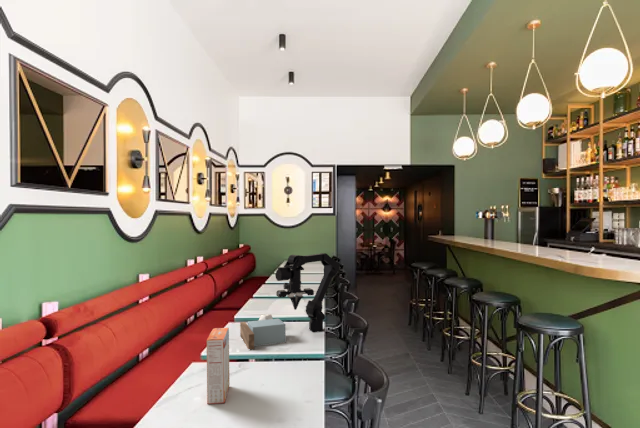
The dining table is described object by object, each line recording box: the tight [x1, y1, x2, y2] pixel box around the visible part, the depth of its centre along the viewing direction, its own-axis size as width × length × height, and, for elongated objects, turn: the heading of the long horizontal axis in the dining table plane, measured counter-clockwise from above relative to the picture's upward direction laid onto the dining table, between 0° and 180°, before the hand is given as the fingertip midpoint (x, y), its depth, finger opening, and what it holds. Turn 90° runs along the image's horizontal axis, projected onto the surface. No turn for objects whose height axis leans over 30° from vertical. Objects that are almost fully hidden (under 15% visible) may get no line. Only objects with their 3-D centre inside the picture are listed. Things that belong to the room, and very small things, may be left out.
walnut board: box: [239, 321, 255, 350], centre depth 194 cm, size 2×24×7 cm, turn 20°
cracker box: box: [205, 327, 230, 405], centre depth 135 cm, size 14×6×21 cm, turn 6°
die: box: [258, 313, 274, 320], centre depth 217 cm, size 8×9×10 cm
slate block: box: [247, 318, 287, 347], centre depth 197 cm, size 16×12×9 cm
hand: (295, 309), depth 207 cm, fingers closed
